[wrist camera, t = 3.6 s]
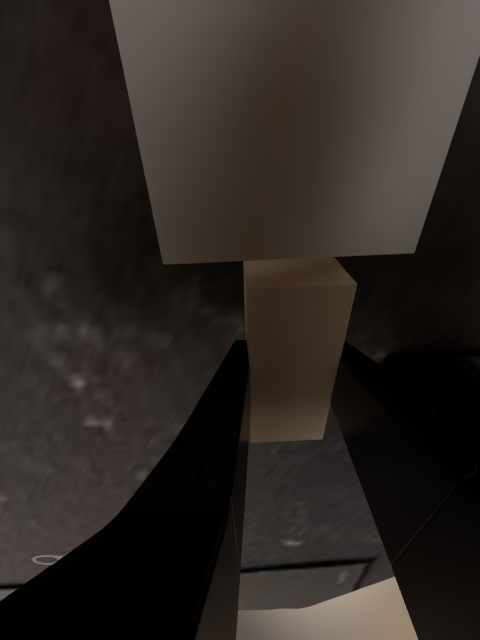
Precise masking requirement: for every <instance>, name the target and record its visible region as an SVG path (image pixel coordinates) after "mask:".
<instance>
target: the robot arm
mask: <svg viewBox="0 0 480 640" xmlns="http://www.w3.org/2000/svg"><path fill="white" fill-rule="evenodd" d="M330 402H331V405H332V408H333V411H334V413H335V416H336V419H337V421H338V424H339V427H340V430H341V432H342V435H343V438H344V440H345V443H346V446H347V448H348V451H349V454H350V456H351V459H352V462H353V465H354V467H355V470H356V473H357V475H358V478H359V481H360V483H361V486H362V489H363V491H364V494H365V497H366V499H367V502H368V505H369V508H370V510H371V513H372V516H373V518H374V521H375V524H376V526H377V529H378V532H379V534H380V537H381V540H382V542H383V545H384V548H385V551H386V553H387V556H388V559H389V561H390V564H391V565H392V570H393V573H394V575H395V578H396V581H397V583H398V586H399V589H400V591H401V594H402V597H403V599H404V602H405V605H406V607H407V610H408V613H409V615H410V618H411V621H412V623H413V626H414V629H415V631H416V634H417V637H418V640H480V351H478V352H457V353H435V354H414V355H395V356H391V357H388V358H387V359H386V360H385V362H384V364H383V367H382V366H381V365H379V364H378V363H376V362H375V361H373V360H372V359H371V358H369V357H368V356H366V355H365V354H363V353H362V352H360V351H359V350H357V349H356V348H354V347H353V346H351V345H350V344H349V343H347V342H346V341H344V345H343V350H342V354H341V358H340V360H339V364H338V369H337V373H336V378H335V382H334V387H333V391H332V396H331V400H330ZM250 414H251V395H250V363H249V358H248V348H247V340H236V341H235V342H234V343H233V345H232V346H231V348H230V350H229V352H228V353H227V355H226V357H225V358H224V360H223V362H222V363H221V365H220V367H219V368H218V370H217V372H216V373H215V375H214V377H213V378H212V380H211V382H210V383H209V385H208V387H207V389H206V390H205V392H204V394H203V395H202V397H201V399H200V400H199V402H198V404H197V405H196V407H195V409H194V410H193V412H192V414H191V415H190V417H189V419H188V420H187V422H186V424H185V425H184V427H183V428H182V430H181V432H180V433H179V435H178V436H177V438H176V439H175V441H174V442H173V444H172V445H171V446H170V448H169V449H168V450H167V452H166V453H165V454H164V456H163V457H162V459H161V460H160V461H159V462H158V464H157V465H156V466H155V468H154V469H153V470H152V472H151V473H150V474H149V475H148V477H147V478H146V479H145V481H144V482H143V483H142V485H141V486H140V487H139V488H138V490H137V491H136V492H135V494H134V495H133V496H132V498H131V499H130V500H129V501H128V503H127V504H126V505H125V506H124V508H123V509H122V510H121V511H120V512H119V513H118V514H117V516H116V517H115V518H114V519H112V520H111V521H110V522H109V523H108V524H107V525H106V526H105V527H104V528H103V529H101V530H100V531H99V532H97V533H96V534H95V535H93V536H92V537H90V538H89V539H88V540H86V541H85V542H83V543H82V544H81V545H79V546H78V547H76V548H75V549H73V550H72V551H71V552H69V553H68V554H66V555H65V556H64V557H62V558H61V559H59V560H58V561H56V562H55V563H54V564H52V565H51V566H49V567H48V568H46V569H45V570H44V571H42V572H41V573H39V574H38V575H37V576H35V577H34V578H32V579H31V580H29V581H28V582H27V583H25V584H24V585H22V586H21V587H20V588H18V589H17V590H15V591H14V592H12V593H11V594H10V595H8V596H7V597H5V598H4V599H2V600H1V601H0V640H236V630H237V614H238V599H239V584H240V568H241V553H242V537H243V522H244V506H245V491H246V476H247V460H248V445H249V429H250Z"/></svg>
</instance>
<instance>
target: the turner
mask: <svg viewBox="0 0 480 640" xmlns="http://www.w3.org/2000/svg"><path fill="white" fill-rule="evenodd" d="M109 2H110V7H111V12H112V17H113V22H114V27H115V32H116V36H117V41H118V46H119V51H120V56H121V61H122V66H123V71H124V76H125V80H126V85H127V90H128V95H129V100H130V105H131V110H132V115H133V120H134V125H135V129H136V134H137V139H138V144H139V149H140V154H141V159H142V164H143V169H144V173H145V178H146V183H147V188H148V193H149V198H150V203H151V208H152V213H153V218H154V222H155V227H156V232H157V237H158V242H159V247H160V252H161V257H162V262H163V265H165V264H187V263H209V262H231V261H243V269H244V301H245V334H246V340H247V348H248V358H249V363H250V395H251V414H250V437H251V443H255V442H275V441H296V440H317V439H323V434H324V430H325V425H326V421H327V416H328V412H329V408H330V403H331V402H330V400H331V396H332V391H333V387H334V382H335V378H336V373H337V369H338V364H339V360H340V358H341V354H342V350H343V345H344V341H345V336H346V332H347V328H348V323H349V319H350V314H351V310H352V305H353V301H354V296H355V292H356V288H357V283H356V282H355V281H354V280H353V279H352V277H351V276H350V275H349V274H348V273H347V272H346V270H345V269H344V268H343V267H342V266H341V265H340V264H339V262H338V261H337V260H336V259H335V258H334V257H341V256H363V255H385V254H407V253H414V252H415V249H416V246H417V243H418V240H419V237H420V234H421V231H422V228H423V225H424V222H425V219H426V216H427V213H428V210H429V207H430V204H431V201H432V198H433V195H434V192H435V189H436V186H437V183H438V180H439V177H440V174H441V171H442V168H443V165H444V162H445V158H446V155H447V152H448V149H449V146H450V143H451V140H452V137H453V134H454V131H455V128H456V125H457V122H458V119H459V116H460V113H461V110H462V107H463V104H464V101H465V98H466V95H467V92H468V89H469V86H470V83H471V80H472V77H473V74H474V71H475V68H476V65H477V62H478V59H479V56H480V0H109Z"/></svg>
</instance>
